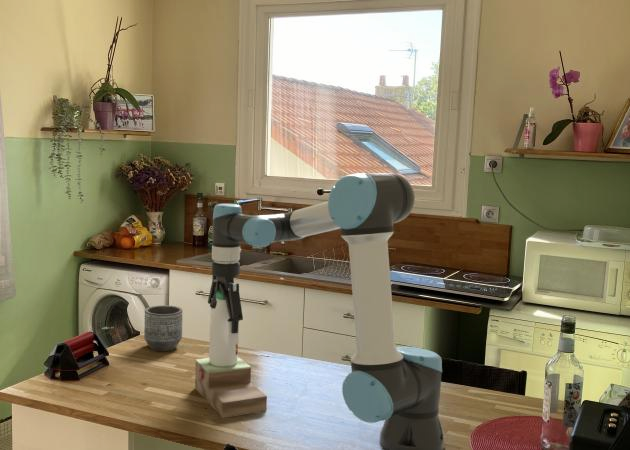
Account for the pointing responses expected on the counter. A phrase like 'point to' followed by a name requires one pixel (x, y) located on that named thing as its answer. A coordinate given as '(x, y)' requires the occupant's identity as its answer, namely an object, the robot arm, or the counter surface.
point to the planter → (163, 327)
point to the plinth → (229, 388)
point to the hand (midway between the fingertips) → (223, 337)
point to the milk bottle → (221, 336)
